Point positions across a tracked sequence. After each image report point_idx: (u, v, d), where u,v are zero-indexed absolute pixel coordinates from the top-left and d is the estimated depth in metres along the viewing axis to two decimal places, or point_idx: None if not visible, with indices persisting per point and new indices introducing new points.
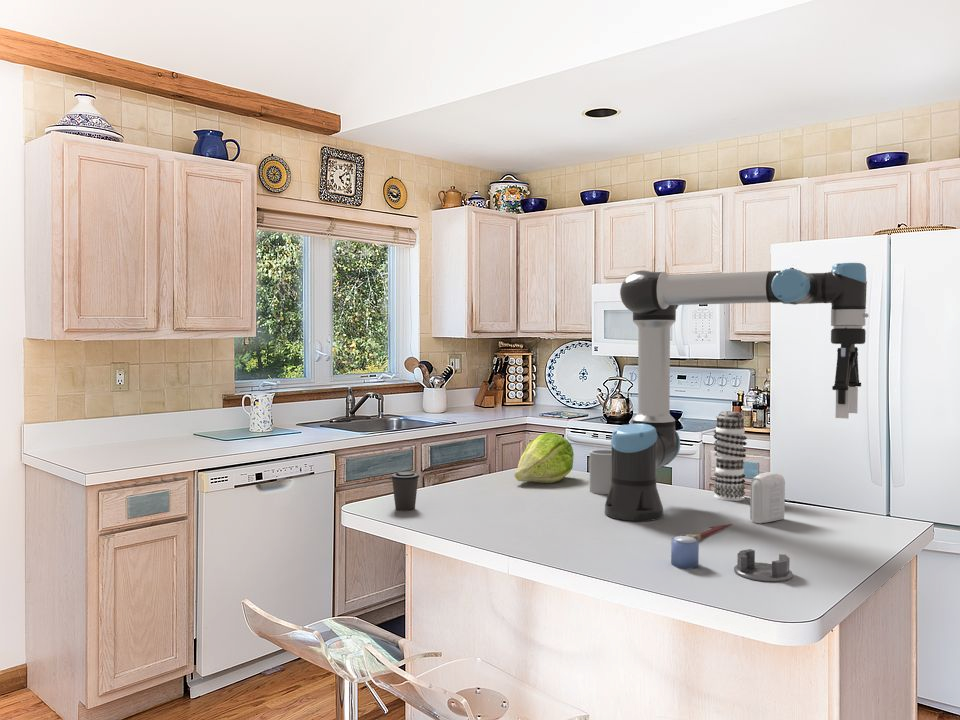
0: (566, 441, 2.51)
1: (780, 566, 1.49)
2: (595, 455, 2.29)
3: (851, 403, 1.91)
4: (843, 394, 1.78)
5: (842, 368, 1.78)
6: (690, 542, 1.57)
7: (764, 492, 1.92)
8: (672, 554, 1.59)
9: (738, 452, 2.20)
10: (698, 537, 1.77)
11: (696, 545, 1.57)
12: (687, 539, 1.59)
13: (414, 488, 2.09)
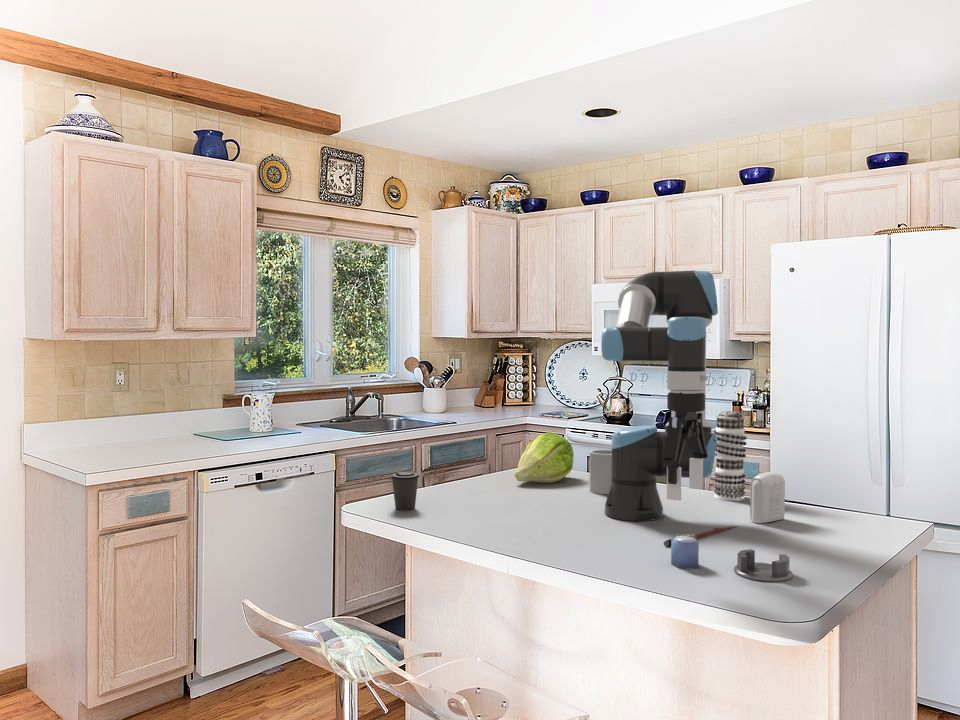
0: (566, 441, 2.51)
1: (780, 566, 1.49)
2: (595, 455, 2.29)
3: (696, 477, 1.64)
4: (673, 472, 1.51)
5: (672, 442, 1.51)
6: (690, 542, 1.57)
7: (764, 492, 1.92)
8: (672, 554, 1.59)
9: (738, 452, 2.20)
10: (693, 537, 1.77)
11: (696, 545, 1.57)
12: (687, 539, 1.59)
13: (414, 488, 2.09)
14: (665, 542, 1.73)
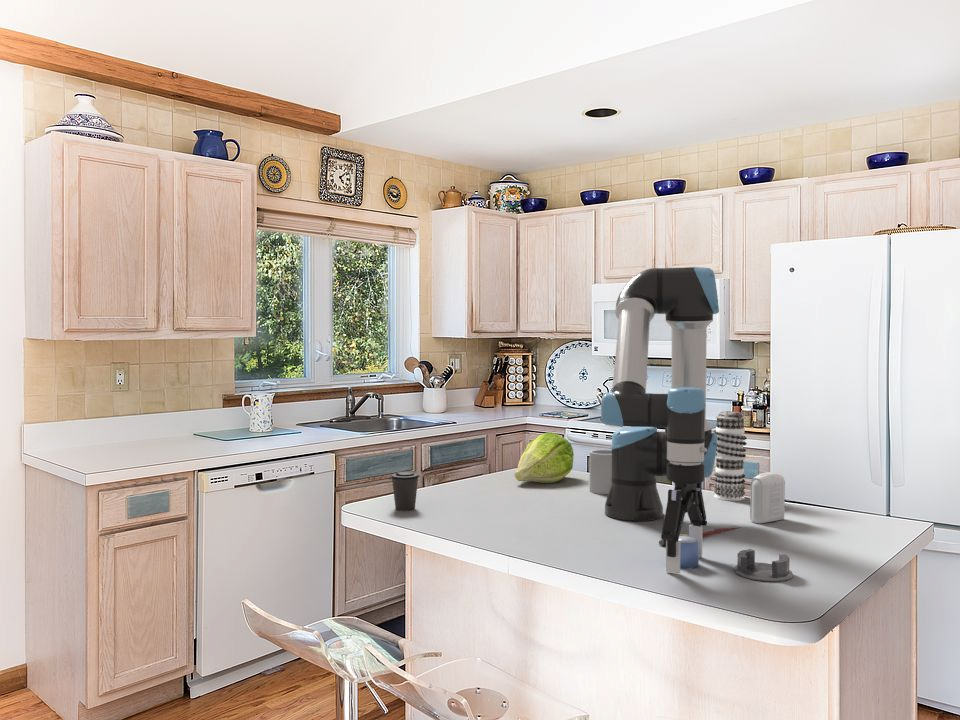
0: (566, 441, 2.51)
1: (780, 566, 1.49)
2: (595, 455, 2.29)
3: None
4: (672, 546, 1.52)
5: (671, 515, 1.52)
6: (690, 542, 1.57)
7: (764, 492, 1.92)
8: None
9: (738, 452, 2.20)
10: None
11: (696, 545, 1.57)
12: (687, 539, 1.59)
13: (414, 488, 2.09)
14: (660, 541, 1.73)
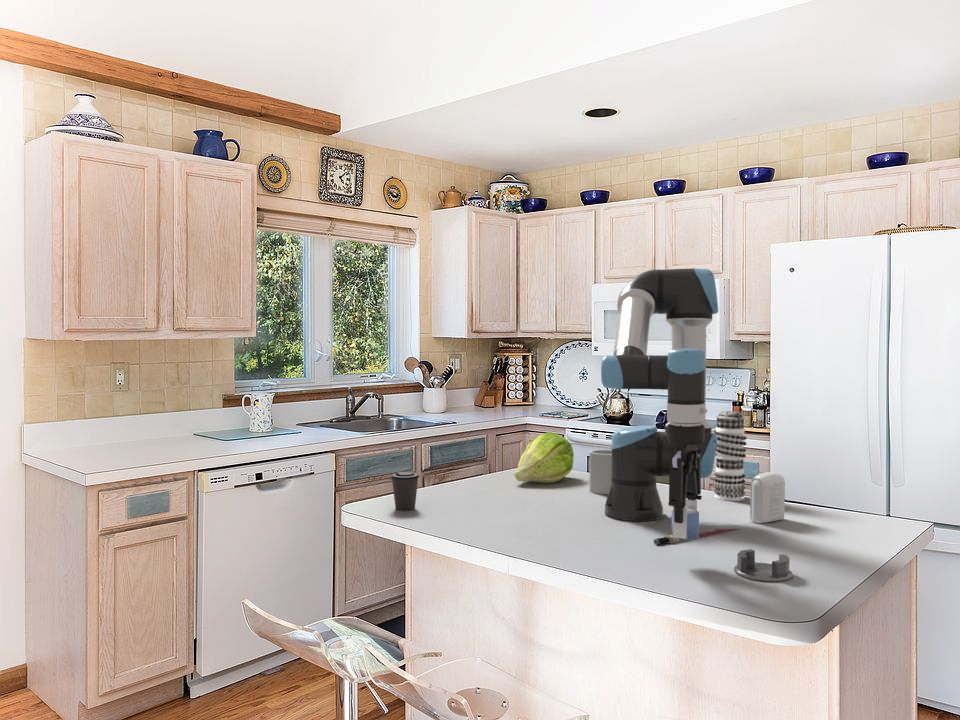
0: (566, 441, 2.51)
1: (780, 566, 1.49)
2: (595, 455, 2.29)
3: None
4: (679, 512, 1.55)
5: (675, 483, 1.54)
6: (691, 513, 1.58)
7: (764, 492, 1.92)
8: None
9: (738, 452, 2.20)
10: None
11: (697, 516, 1.58)
12: (687, 510, 1.59)
13: (414, 488, 2.09)
14: (655, 540, 1.74)
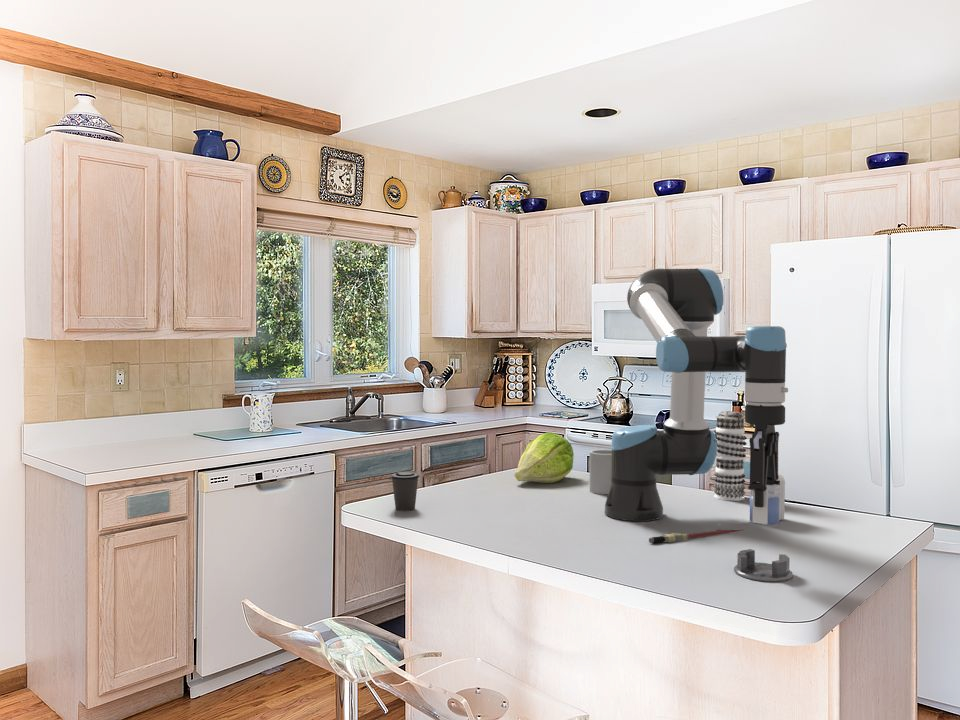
0: (566, 441, 2.51)
1: (780, 566, 1.49)
2: (595, 455, 2.29)
3: None
4: (760, 495, 1.49)
5: (757, 465, 1.47)
6: (771, 497, 1.51)
7: None
8: (751, 510, 1.52)
9: (738, 452, 2.20)
10: (683, 536, 1.78)
11: (777, 500, 1.51)
12: None
13: (414, 488, 2.09)
14: (650, 539, 1.75)
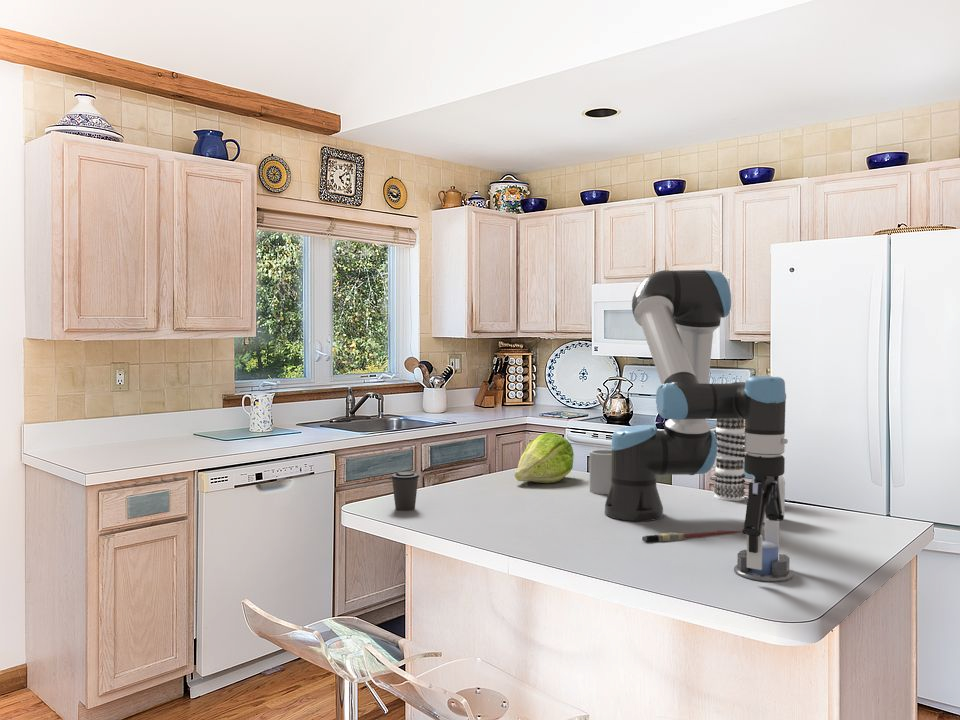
0: (566, 441, 2.51)
1: (780, 566, 1.49)
2: (595, 455, 2.29)
3: (771, 540, 1.59)
4: (754, 541, 1.46)
5: (753, 509, 1.46)
6: (770, 547, 1.51)
7: None
8: None
9: (738, 452, 2.20)
10: (679, 536, 1.79)
11: (776, 550, 1.51)
12: (766, 544, 1.53)
13: (414, 488, 2.09)
14: (643, 537, 1.76)
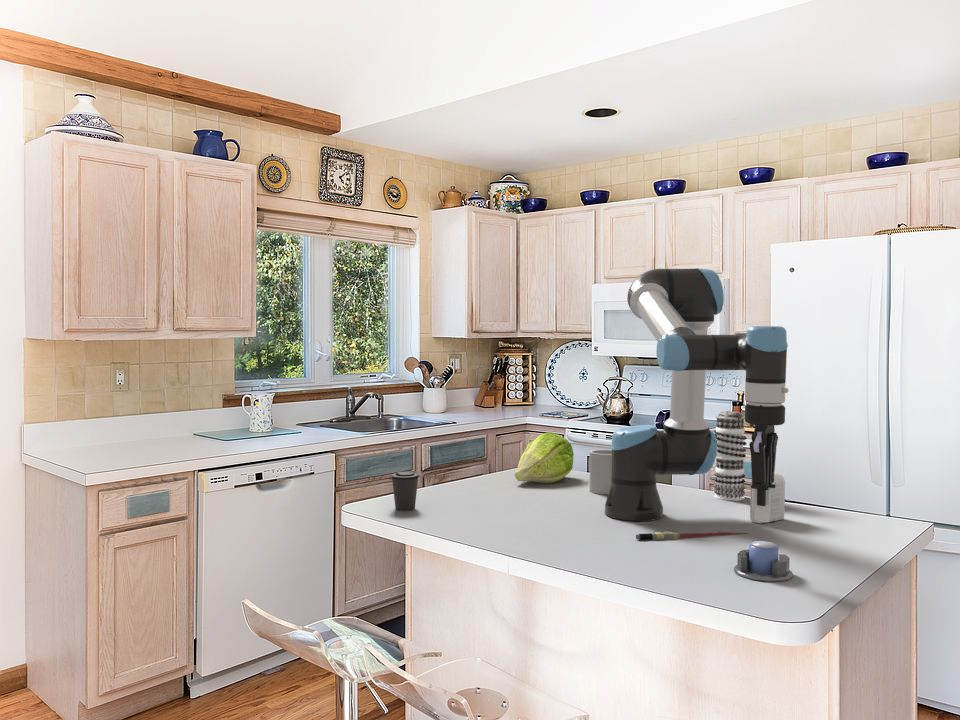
0: (566, 441, 2.51)
1: (780, 566, 1.49)
2: (595, 455, 2.29)
3: None
4: (762, 494, 1.52)
5: (758, 467, 1.49)
6: (770, 547, 1.51)
7: None
8: (750, 560, 1.53)
9: (738, 452, 2.20)
10: (674, 535, 1.79)
11: (776, 550, 1.51)
12: (766, 544, 1.53)
13: (414, 488, 2.09)
14: (636, 535, 1.78)
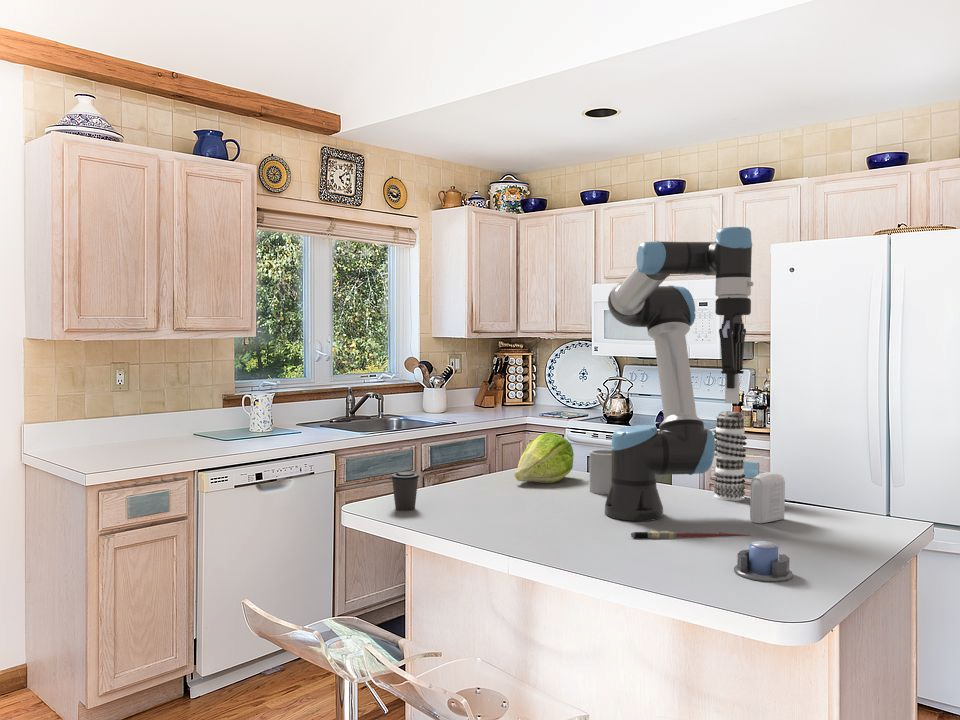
0: (566, 441, 2.51)
1: (780, 566, 1.49)
2: (595, 455, 2.29)
3: None
4: (732, 378, 1.70)
5: (727, 351, 1.67)
6: (770, 547, 1.51)
7: (764, 492, 1.92)
8: (750, 560, 1.53)
9: (738, 452, 2.20)
10: (670, 534, 1.80)
11: (776, 550, 1.51)
12: (766, 544, 1.53)
13: (414, 488, 2.09)
14: (631, 533, 1.80)
